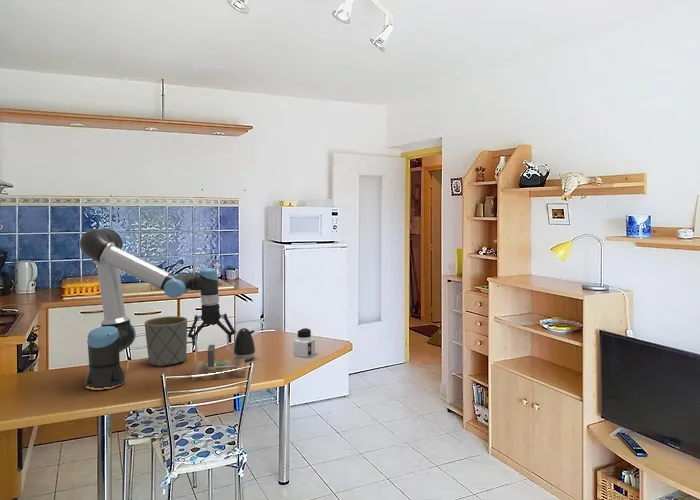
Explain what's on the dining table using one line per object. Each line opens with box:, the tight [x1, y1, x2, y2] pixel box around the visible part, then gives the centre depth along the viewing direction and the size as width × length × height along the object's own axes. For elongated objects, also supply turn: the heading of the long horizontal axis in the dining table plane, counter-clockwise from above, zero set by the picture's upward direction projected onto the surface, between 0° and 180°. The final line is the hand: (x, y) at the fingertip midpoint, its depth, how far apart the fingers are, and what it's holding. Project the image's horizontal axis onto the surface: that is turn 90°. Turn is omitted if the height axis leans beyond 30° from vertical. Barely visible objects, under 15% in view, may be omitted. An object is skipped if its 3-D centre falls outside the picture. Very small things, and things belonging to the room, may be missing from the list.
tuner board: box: [191, 358, 246, 382], centre depth 237 cm, size 22×18×3 cm
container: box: [293, 327, 316, 359], centre depth 263 cm, size 8×8×13 cm
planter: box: [144, 315, 188, 368], centre depth 253 cm, size 19×19×20 cm
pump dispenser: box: [233, 327, 256, 362], centre depth 256 cm, size 10×10×15 cm
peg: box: [206, 344, 235, 370], centre depth 233 cm, size 12×10×10 cm
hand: (212, 351), depth 235 cm, fingers open, 13 cm apart
